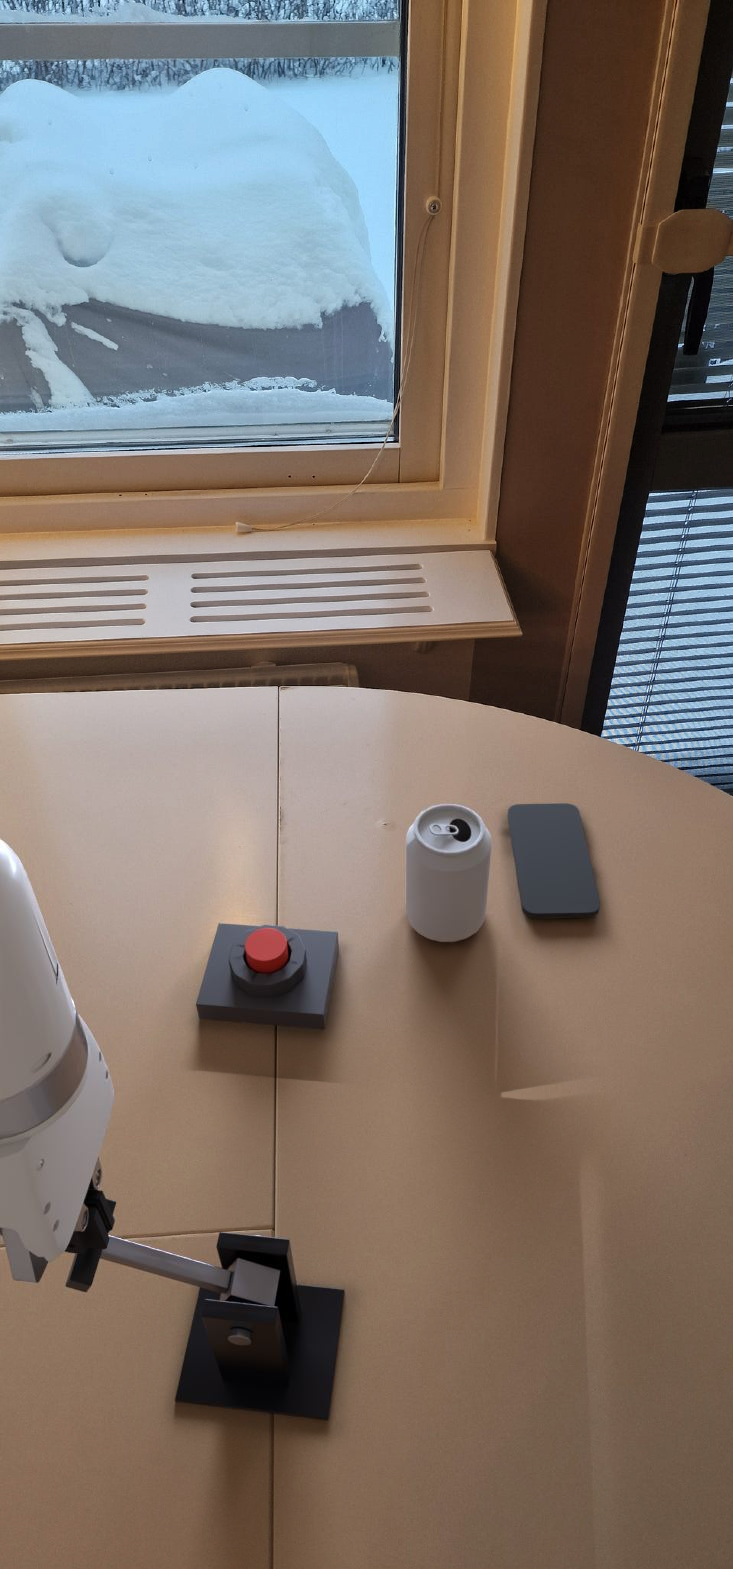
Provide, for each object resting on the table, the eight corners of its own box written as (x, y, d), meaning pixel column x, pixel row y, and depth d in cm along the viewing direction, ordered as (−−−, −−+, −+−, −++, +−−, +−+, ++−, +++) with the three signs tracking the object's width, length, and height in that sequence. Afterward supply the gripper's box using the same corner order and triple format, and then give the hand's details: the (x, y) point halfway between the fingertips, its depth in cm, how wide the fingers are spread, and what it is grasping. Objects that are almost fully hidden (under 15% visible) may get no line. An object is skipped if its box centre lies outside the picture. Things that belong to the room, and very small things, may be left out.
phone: (578, 802, 107) (603, 912, 96) (577, 808, 108) (602, 918, 96) (506, 804, 107) (523, 914, 96) (505, 809, 108) (522, 920, 97)
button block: (199, 1019, 89) (192, 991, 87) (221, 938, 96) (216, 909, 93) (324, 1029, 88) (322, 1001, 86) (338, 946, 95) (337, 918, 92)
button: (243, 971, 89) (241, 959, 87) (251, 939, 91) (249, 926, 90) (284, 975, 88) (282, 962, 87) (291, 942, 91) (290, 929, 90)
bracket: (177, 1406, 67) (147, 1337, 59) (204, 1280, 73) (181, 1203, 65) (329, 1424, 66) (319, 1357, 58) (345, 1295, 72) (338, 1219, 64)
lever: (62, 1289, 60) (71, 1276, 58) (89, 1206, 64) (98, 1191, 62) (256, 1343, 62) (270, 1332, 61) (271, 1260, 66) (284, 1247, 64)
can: (494, 941, 95) (502, 851, 87) (414, 953, 94) (415, 863, 86) (474, 882, 100) (480, 791, 92) (398, 892, 100) (398, 802, 92)
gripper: (-14, 925, 54) (65, 1111, 66) (-153, 1204, 43) (-27, 1365, 55) (126, 935, 53) (179, 1122, 65) (22, 1222, 42) (110, 1381, 54)
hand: (85, 1233), depth 60 cm, fingers closed
